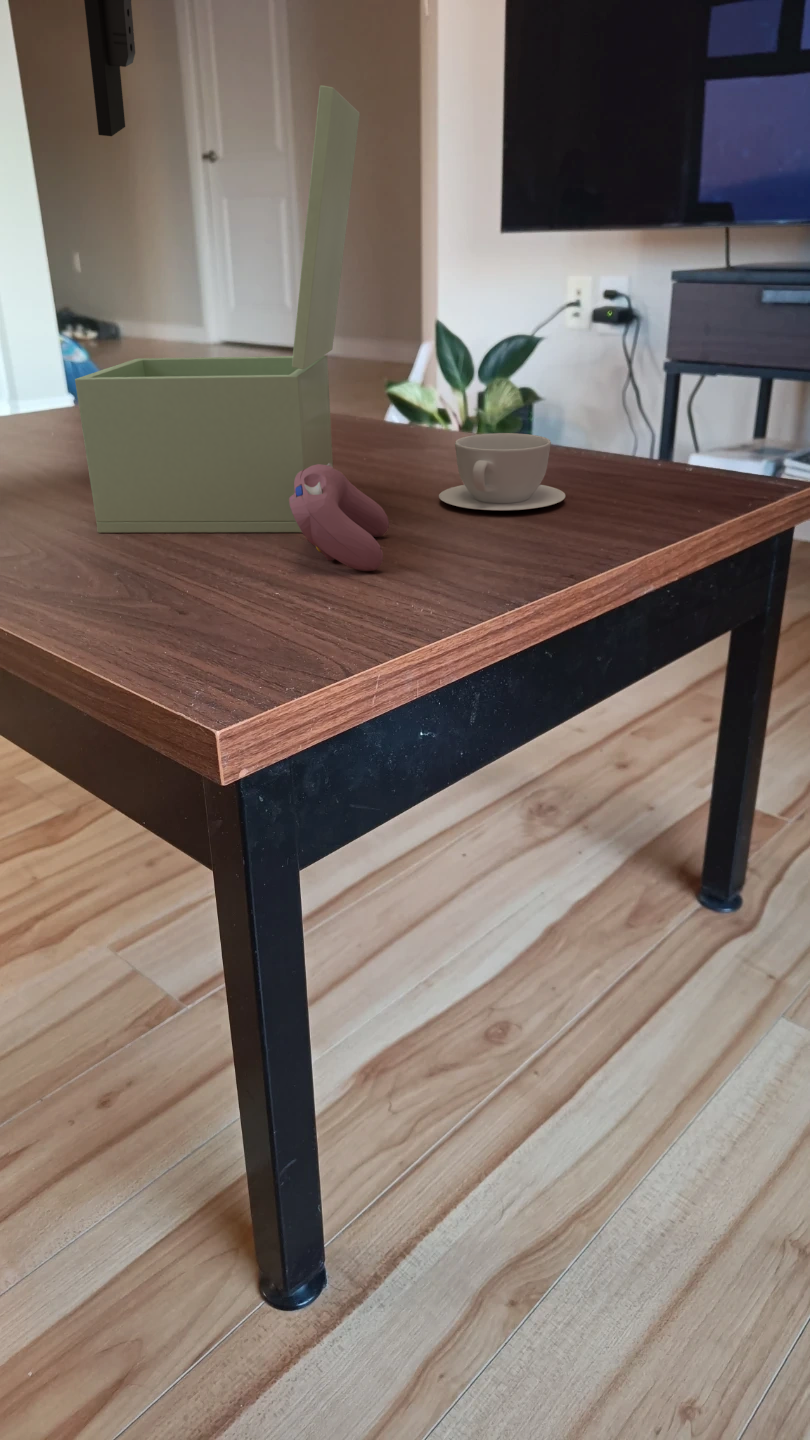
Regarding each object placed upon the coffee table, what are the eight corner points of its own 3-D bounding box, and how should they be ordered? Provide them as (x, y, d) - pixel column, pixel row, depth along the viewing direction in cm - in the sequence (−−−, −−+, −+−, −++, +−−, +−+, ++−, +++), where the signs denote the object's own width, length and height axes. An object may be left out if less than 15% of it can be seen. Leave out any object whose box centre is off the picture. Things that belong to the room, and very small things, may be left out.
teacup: (468, 484, 88) (468, 427, 86) (581, 493, 84) (584, 434, 82) (417, 510, 80) (416, 448, 78) (540, 521, 75) (542, 456, 74)
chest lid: (319, 84, 62) (333, 87, 62) (348, 110, 75) (359, 112, 75) (291, 367, 69) (303, 369, 69) (321, 348, 82) (332, 350, 82)
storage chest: (97, 532, 75) (74, 378, 71) (153, 491, 88) (136, 358, 83) (307, 532, 74) (298, 375, 70) (334, 491, 86) (327, 355, 82)
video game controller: (339, 555, 74) (289, 468, 72) (395, 526, 73) (346, 437, 70) (325, 598, 65) (268, 500, 63) (388, 566, 64) (333, 465, 62)
